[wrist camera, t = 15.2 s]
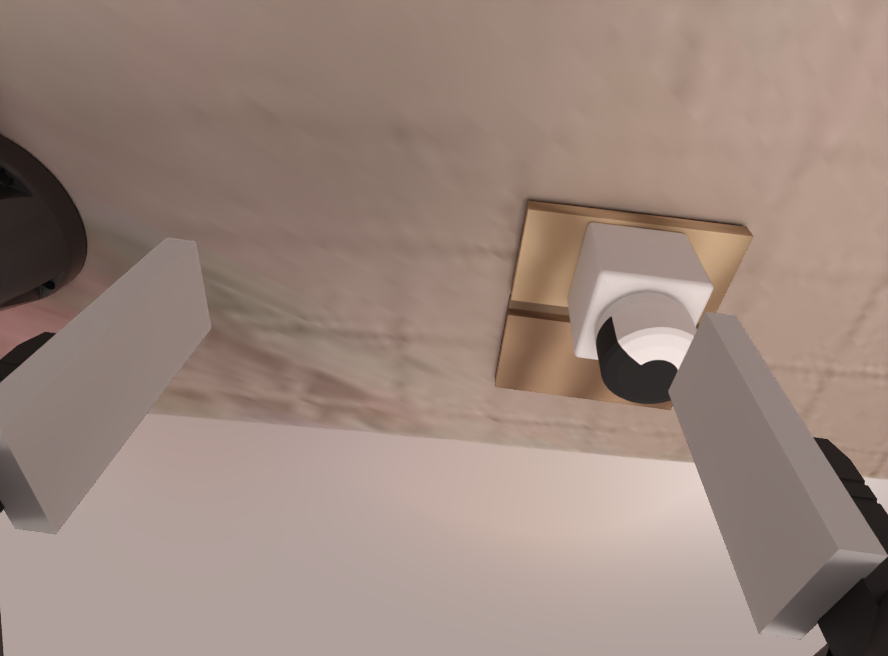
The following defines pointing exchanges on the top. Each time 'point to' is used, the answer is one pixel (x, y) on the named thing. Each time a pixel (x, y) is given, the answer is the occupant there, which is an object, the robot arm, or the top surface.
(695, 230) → the plank
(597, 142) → the top surface
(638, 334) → the medicine bottle
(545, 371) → the laid board
